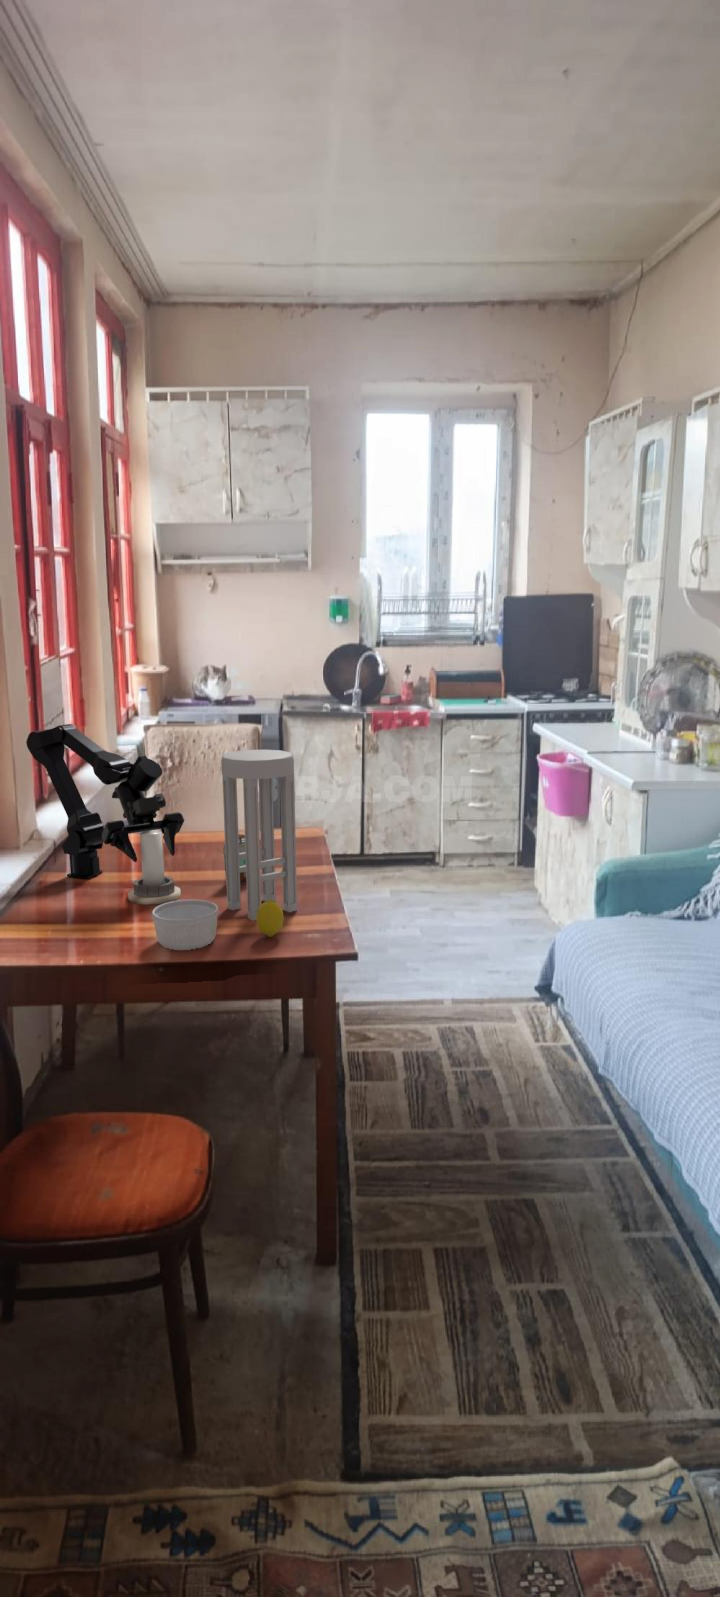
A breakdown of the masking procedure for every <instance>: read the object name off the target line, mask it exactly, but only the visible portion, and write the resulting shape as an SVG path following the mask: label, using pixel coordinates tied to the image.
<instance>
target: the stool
mask: <svg viewBox="0 0 720 1597" xmlns="http://www.w3.org/2000/svg"><path fill="white" fill-rule="evenodd" d="M220 762H221V763H220V764H221V776H222V797H223V800H222V801H223V802H222V804H223V822H224V823H223V825H224V826H223V827H224V845H225V856H226V873H225V883H226V882H227V884H226V904H227V909H229V910H231V911H235V910H236V911H237V910H240V909H242V900H241V896H242V895H241V883H240V873H241V872H246V882H245V884H246V905H247V908H246V909H247V919H249V920H251V921H256V917H257V911H258V908H259V907H260V905H261V904H262V901H263V902H266V901H268V900H272V901H274V902H276V901H277V897H276V896H277V895H276V893H277V892H276V889H277V888H276V879H280V878H281V879H282V902H283V903H282V905H283V907H282V911H285V912H286V913H293V911H294V912H297V911H298V887H297V885H298V883H297V881H298V880H297V844H296V842H297V841H296V840H297V839H296V838H297V837H296V836H297V835H296V805H295V801H296V799H295V797H296V796H295V794H296V793H295V759H294V755H293V752H290V751H285V750H278V749H247V750H245V749H244V750H236V751H230V752H227V753H223V754H221V760H220ZM275 778H276V779H277V778H279V787H280V788H279V789H280V793H279V794H280V796H279V797H280V825H281V826H280V829H281V830H280V831H281V856H280V857H276V856H275V854H276V853H275V851H276V850H275V827H274V826H275V825H274V824H275V822H274V821H275V817H274V789H273V788H274V785H273V782H274V781H273V780H274V779H275ZM237 779H239V780H240V779H242V781H243V782H242V785H243V788H242V789H243V790H242V792H243V794H242V795H243V820H244V823H243V824H244V835H245V852H243V853H239V837H238V834H239V818H238V817H239V814H238V811H239V810H238V789H237V787H238V786H237ZM259 826H260V827H259ZM245 858H246V865H245V866H240V865H239V859H245ZM281 864H282V865H281ZM276 865H277V866H278V865H281V866H282V867H281V869H282V870H279V871H276V867H275V866H276Z"/></svg>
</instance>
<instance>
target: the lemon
mask: <svg viewBox="0 0 720 1597" xmlns="http://www.w3.org/2000/svg"><path fill="white" fill-rule="evenodd" d="M283 912H284V911H283V908H282V907H281V905H280V904H279V903H278V902H276V901H272V900H268V901H266V902H265V901H263V903H261V905H260V907H259V908H258V911H257V917H256V920H255V921H256V925H257V927H258V930H259V931H260V932H261V933H263V935H266V936H267V937H269V938H272V937H273V936H274V935H276V934H278V933H280V932H281V930H282V928H283V925H284V919H285V918H284V913H283Z"/></svg>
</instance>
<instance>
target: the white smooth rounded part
mask: <svg viewBox="0 0 720 1597" xmlns="http://www.w3.org/2000/svg"><path fill="white" fill-rule="evenodd" d="M139 840H140V858H141V872H142V874H141V875H142V878H143V883H142V885H144V886H158V885H163V884H166V882H165V877H164V876H165V864H164V862H165V861H164V860H165V859H164V847H163V846H164V844H163V833H162V831H161V830H151V831H144V832H139Z"/></svg>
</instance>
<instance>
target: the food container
mask: <svg viewBox="0 0 720 1597" xmlns="http://www.w3.org/2000/svg"><path fill="white" fill-rule="evenodd" d="M238 837H239V853H243V852H245V834H240V833H238ZM222 850H223V851H222V854H223V858H224V871H225V872H224V873H225V874H226V856H225V844H223V847H222ZM239 865H240V866H245V865H246V858H245V859H239ZM244 883H245V884H246V872H241V873H240V884H244ZM225 884H226V885H227V882H226V881H225Z"/></svg>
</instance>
